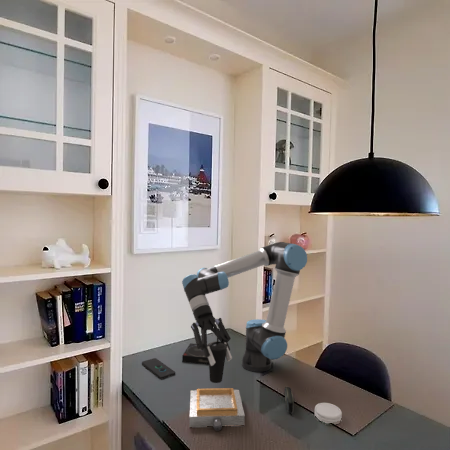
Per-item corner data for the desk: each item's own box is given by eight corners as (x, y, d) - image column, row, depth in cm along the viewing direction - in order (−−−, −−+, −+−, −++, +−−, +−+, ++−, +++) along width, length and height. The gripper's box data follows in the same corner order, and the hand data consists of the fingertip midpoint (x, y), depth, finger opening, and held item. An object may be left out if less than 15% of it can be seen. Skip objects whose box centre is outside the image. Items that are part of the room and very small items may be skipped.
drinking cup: (223, 386, 128) (225, 333, 127) (203, 383, 130) (206, 331, 129) (227, 376, 136) (229, 327, 135) (208, 374, 137) (210, 325, 136)
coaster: (347, 421, 130) (347, 412, 130) (328, 429, 125) (328, 419, 125) (327, 408, 139) (327, 399, 138) (309, 414, 134) (309, 406, 133)
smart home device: (160, 377, 158) (141, 361, 173) (160, 380, 158) (140, 365, 173) (176, 372, 163) (155, 357, 178) (176, 375, 163) (155, 360, 178)
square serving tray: (238, 399, 143) (238, 386, 143) (245, 431, 122) (245, 416, 122) (190, 399, 141) (190, 386, 141) (189, 432, 120) (189, 417, 120)
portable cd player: (219, 352, 191) (219, 345, 191) (213, 365, 174) (213, 358, 174) (190, 349, 193) (190, 342, 193) (182, 363, 176) (182, 355, 176)
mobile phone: (283, 385, 147) (288, 404, 132) (290, 385, 146) (296, 404, 131) (283, 396, 147) (287, 416, 132) (290, 397, 146) (295, 417, 131)
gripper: (217, 310, 150) (238, 360, 137) (176, 317, 139) (195, 372, 126) (224, 301, 145) (247, 352, 133) (182, 307, 134) (203, 364, 121)
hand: (221, 362), depth 129 cm, fingers closed on drinking cup, 7 cm apart
